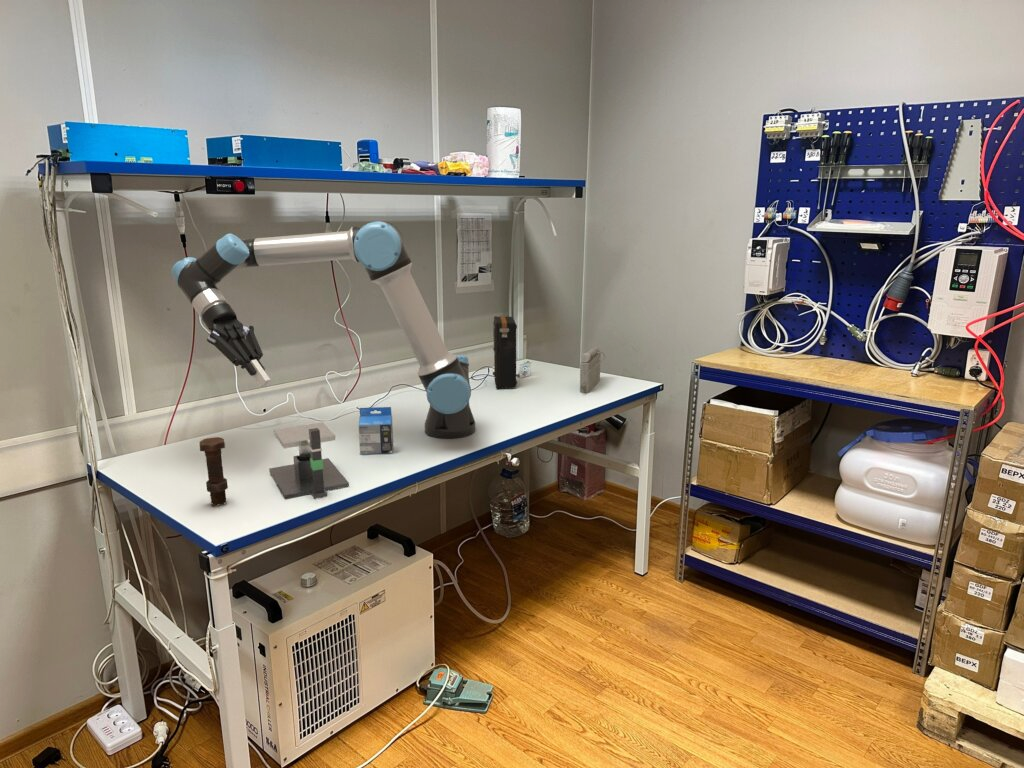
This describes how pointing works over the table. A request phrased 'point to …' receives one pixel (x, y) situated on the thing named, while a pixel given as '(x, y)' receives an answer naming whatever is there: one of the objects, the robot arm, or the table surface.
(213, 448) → the bolt
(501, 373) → the black case
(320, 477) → the stand
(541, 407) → the table surface
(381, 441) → the label tape box
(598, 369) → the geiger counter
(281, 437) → the pan
